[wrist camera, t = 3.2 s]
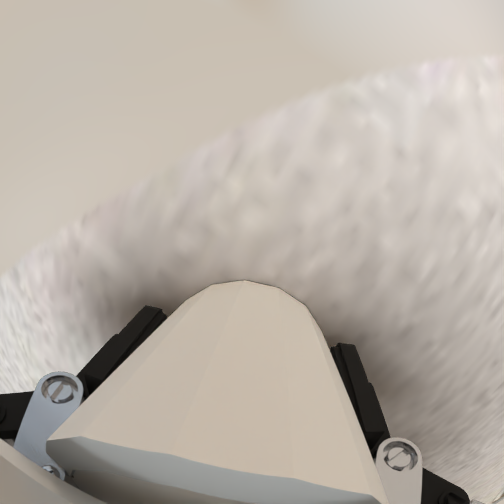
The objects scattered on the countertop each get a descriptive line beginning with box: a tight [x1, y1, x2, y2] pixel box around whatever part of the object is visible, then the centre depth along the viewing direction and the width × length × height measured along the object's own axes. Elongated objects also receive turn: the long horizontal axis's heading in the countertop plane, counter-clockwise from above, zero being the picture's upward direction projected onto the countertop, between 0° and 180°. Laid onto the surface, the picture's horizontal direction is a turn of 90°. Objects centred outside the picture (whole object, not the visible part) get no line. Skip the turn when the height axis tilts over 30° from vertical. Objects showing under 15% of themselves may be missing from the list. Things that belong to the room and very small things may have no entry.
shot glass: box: [46, 280, 389, 504], centre depth 6 cm, size 7×7×7 cm
